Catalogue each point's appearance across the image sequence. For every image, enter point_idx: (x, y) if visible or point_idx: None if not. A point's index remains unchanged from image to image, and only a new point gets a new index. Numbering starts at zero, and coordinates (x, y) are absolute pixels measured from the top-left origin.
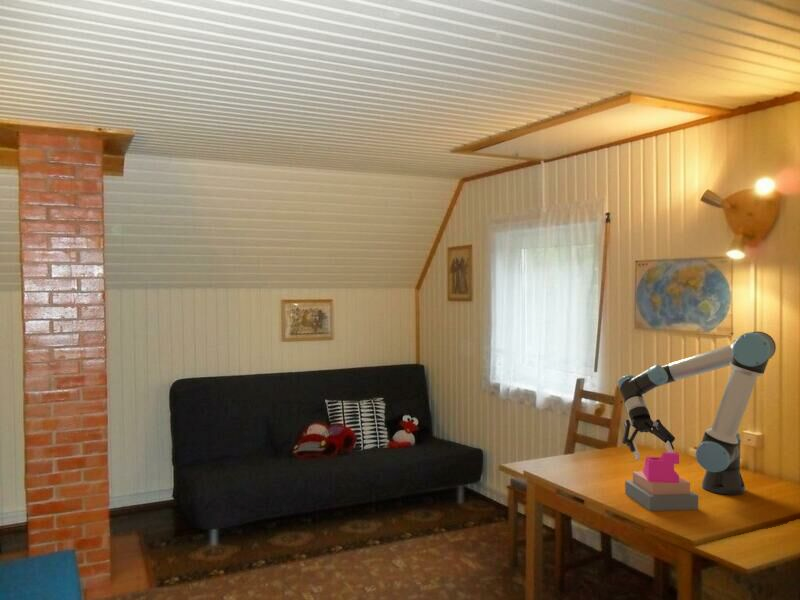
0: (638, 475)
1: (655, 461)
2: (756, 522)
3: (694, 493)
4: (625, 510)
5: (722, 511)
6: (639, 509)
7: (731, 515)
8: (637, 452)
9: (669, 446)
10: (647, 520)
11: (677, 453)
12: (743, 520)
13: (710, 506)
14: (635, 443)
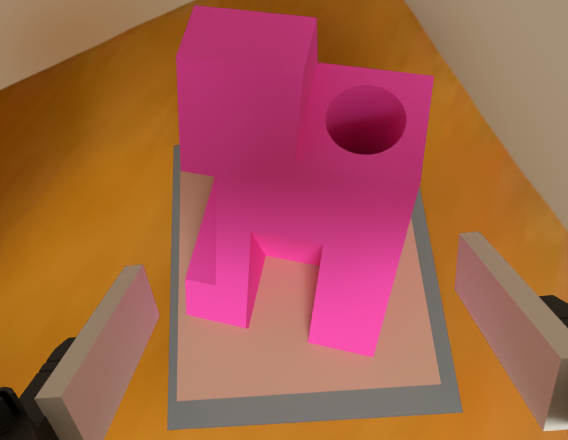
0: (423, 289)
1: (381, 74)
2: (78, 58)
3: (175, 171)
4: (497, 155)
5: (116, 153)
6: (432, 168)
7: (112, 115)
8: (496, 255)
9: (100, 333)
10: (437, 57)
11: (190, 34)
12: (105, 73)
13: (124, 208)
14: (546, 334)
